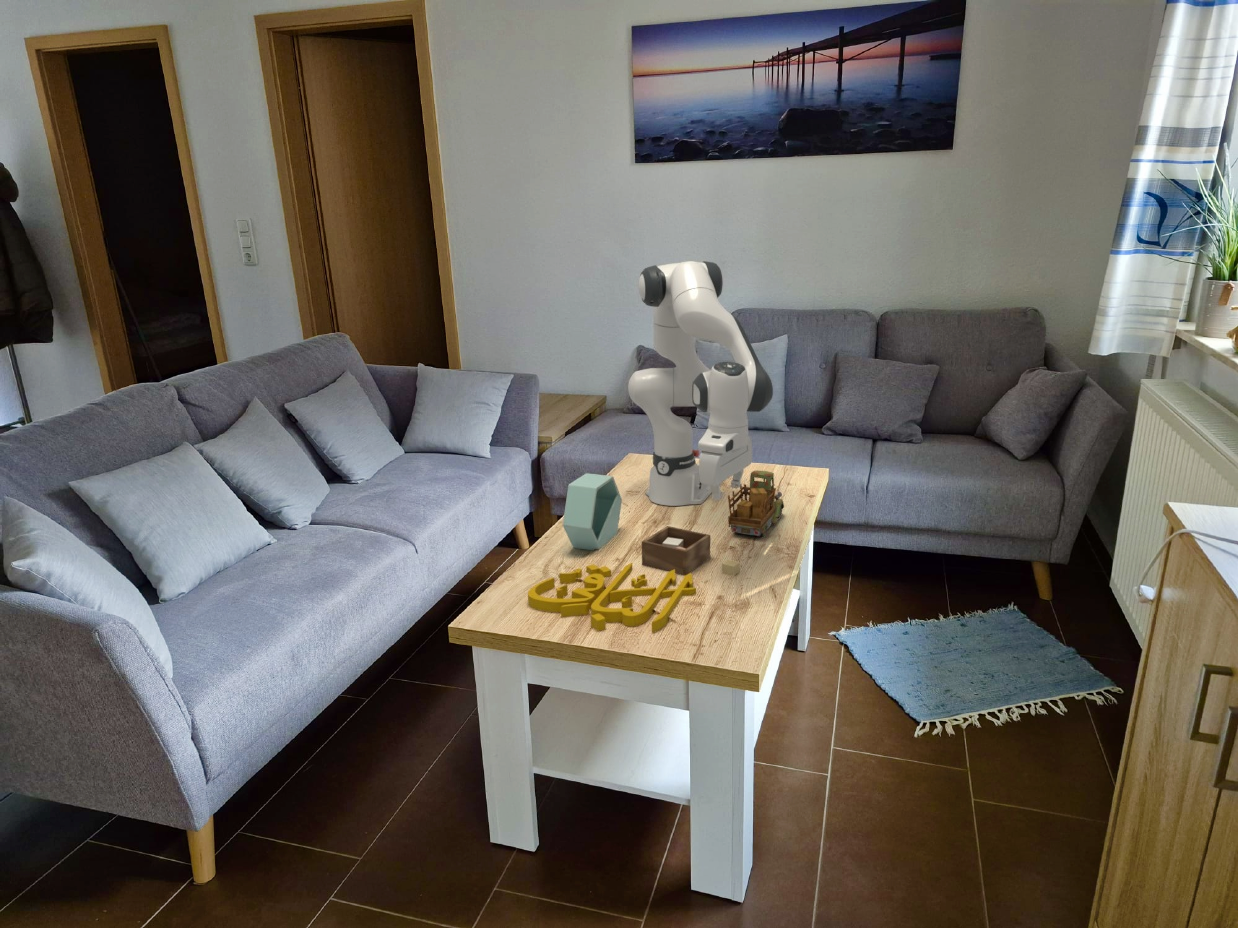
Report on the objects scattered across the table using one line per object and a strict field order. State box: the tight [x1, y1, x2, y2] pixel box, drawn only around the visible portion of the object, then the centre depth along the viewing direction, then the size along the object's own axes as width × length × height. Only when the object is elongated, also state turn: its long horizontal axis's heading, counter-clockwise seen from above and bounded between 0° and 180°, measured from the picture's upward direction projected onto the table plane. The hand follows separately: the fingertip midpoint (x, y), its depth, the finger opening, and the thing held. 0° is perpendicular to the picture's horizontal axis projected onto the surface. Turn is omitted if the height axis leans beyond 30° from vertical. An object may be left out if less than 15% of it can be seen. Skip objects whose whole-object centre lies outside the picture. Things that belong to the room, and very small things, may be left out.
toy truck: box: [727, 470, 785, 539], centre depth 226 cm, size 11×25×15 cm, turn 155°
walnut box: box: [641, 525, 711, 577], centre depth 204 cm, size 12×12×7 cm
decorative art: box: [527, 562, 697, 633], centre depth 188 cm, size 34×3×30 cm
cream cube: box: [662, 537, 683, 548], centre depth 207 cm, size 4×4×4 cm
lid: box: [721, 559, 740, 577], centre depth 198 cm, size 13×13×4 cm
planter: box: [562, 472, 623, 551], centre depth 217 cm, size 17×8×21 cm
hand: (726, 493), depth 195 cm, fingers open, 8 cm apart
